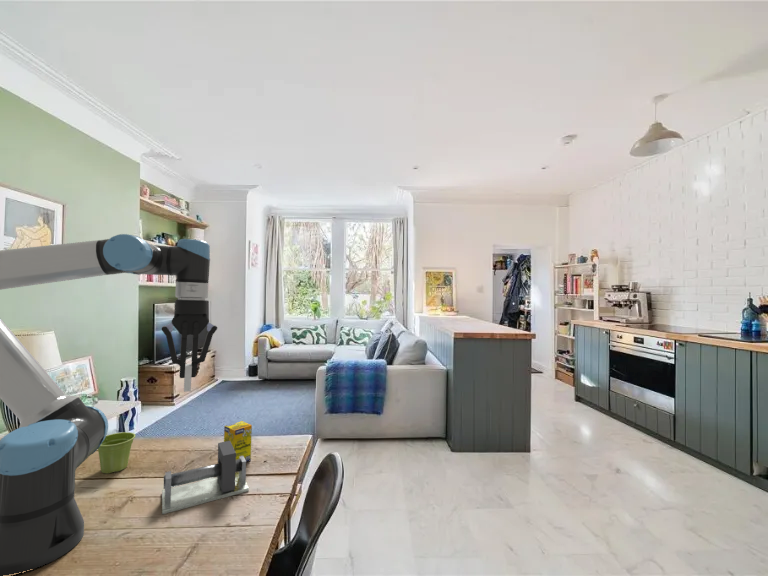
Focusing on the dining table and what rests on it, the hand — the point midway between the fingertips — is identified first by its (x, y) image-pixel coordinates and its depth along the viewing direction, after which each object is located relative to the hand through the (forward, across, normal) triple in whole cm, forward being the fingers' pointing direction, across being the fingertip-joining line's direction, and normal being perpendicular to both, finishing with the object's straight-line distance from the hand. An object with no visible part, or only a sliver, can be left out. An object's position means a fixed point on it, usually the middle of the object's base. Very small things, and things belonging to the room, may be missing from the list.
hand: (187, 390), depth 91 cm
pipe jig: (+26, +5, -3) cm, 27 cm away
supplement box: (+26, +15, +12) cm, 32 cm away
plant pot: (+27, -17, +23) cm, 39 cm away
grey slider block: (+25, +10, -3) cm, 27 cm away
